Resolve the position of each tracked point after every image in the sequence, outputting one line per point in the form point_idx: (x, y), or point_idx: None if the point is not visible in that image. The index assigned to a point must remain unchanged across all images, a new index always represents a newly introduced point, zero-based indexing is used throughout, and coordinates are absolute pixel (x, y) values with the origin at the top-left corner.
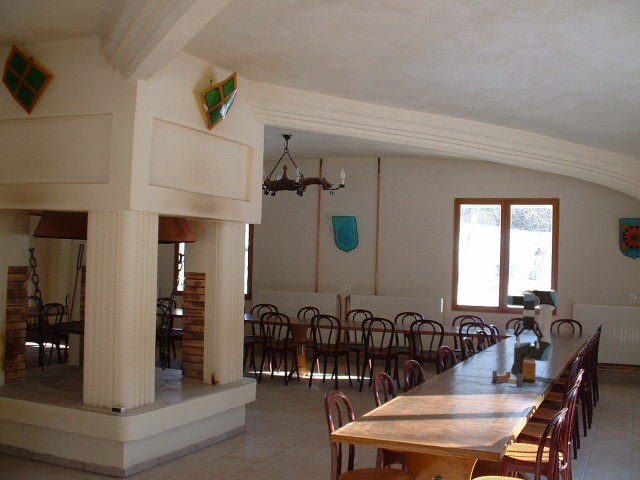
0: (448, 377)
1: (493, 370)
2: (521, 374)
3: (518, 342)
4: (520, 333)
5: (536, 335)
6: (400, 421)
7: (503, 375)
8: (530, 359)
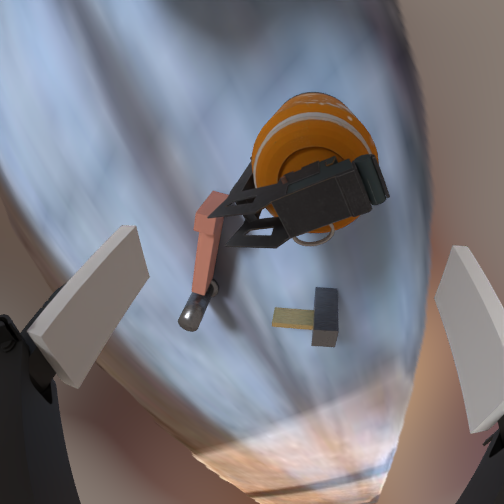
0: None
1: (180, 321)
2: (334, 342)
3: (121, 307)
4: (45, 430)
5: (471, 493)
6: (279, 496)
7: (210, 261)
8: (344, 225)
